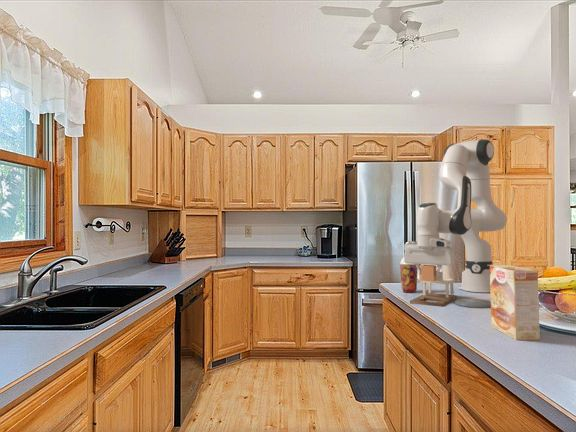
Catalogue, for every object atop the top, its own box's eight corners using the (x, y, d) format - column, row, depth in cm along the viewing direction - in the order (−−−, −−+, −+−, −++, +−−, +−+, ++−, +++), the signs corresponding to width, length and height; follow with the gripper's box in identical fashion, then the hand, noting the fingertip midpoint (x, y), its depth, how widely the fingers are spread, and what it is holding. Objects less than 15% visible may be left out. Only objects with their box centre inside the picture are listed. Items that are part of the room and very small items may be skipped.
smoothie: (403, 290, 201) (402, 249, 202) (420, 291, 197) (419, 249, 197) (397, 292, 195) (396, 250, 195) (415, 294, 190) (413, 250, 190)
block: (424, 278, 175) (424, 264, 174) (436, 279, 172) (436, 265, 172) (421, 280, 170) (420, 266, 170) (433, 281, 168) (433, 266, 168)
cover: (428, 292, 186) (428, 268, 186) (454, 294, 180) (453, 269, 180) (422, 295, 179) (421, 270, 179) (448, 297, 172) (447, 272, 173)
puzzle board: (426, 295, 187) (426, 292, 187) (456, 297, 179) (456, 295, 179) (409, 303, 169) (409, 300, 169) (442, 306, 161) (442, 303, 161)
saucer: (459, 300, 174) (459, 297, 174) (496, 303, 165) (496, 300, 165) (451, 305, 162) (450, 303, 162) (489, 309, 154) (489, 306, 154)
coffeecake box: (490, 326, 130) (488, 265, 130) (513, 326, 129) (511, 264, 130) (515, 340, 115) (513, 270, 115) (541, 340, 114) (539, 270, 115)
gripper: (401, 241, 175) (401, 274, 175) (451, 243, 162) (451, 278, 162) (406, 240, 180) (407, 272, 180) (455, 242, 167) (456, 275, 168)
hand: (428, 275), depth 171 cm, fingers closed on block, 5 cm apart
